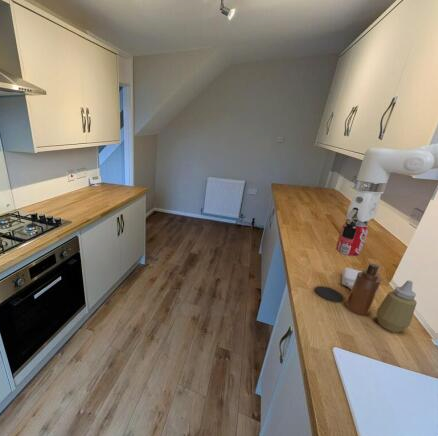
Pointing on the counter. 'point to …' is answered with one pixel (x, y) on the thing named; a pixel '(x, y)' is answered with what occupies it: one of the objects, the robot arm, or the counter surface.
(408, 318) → the squeeze bottle
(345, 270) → the charger
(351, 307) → the stoneware bottle
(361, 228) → the soda can
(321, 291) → the coaster
